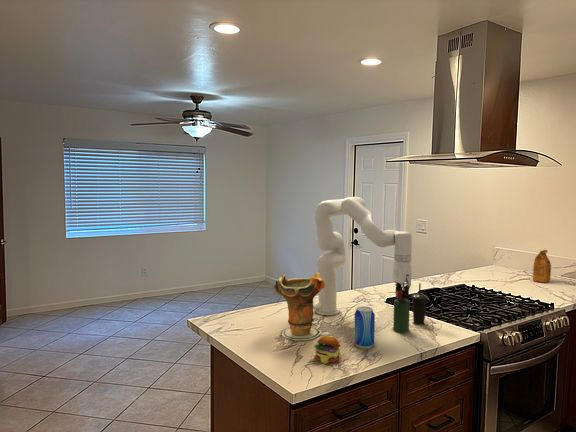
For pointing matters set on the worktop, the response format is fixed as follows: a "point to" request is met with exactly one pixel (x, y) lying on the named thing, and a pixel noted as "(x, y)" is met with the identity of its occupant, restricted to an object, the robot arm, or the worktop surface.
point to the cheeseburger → (327, 349)
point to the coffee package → (542, 267)
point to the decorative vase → (300, 305)
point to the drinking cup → (419, 307)
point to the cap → (399, 294)
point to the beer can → (364, 327)
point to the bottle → (401, 315)
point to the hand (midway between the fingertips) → (402, 296)
